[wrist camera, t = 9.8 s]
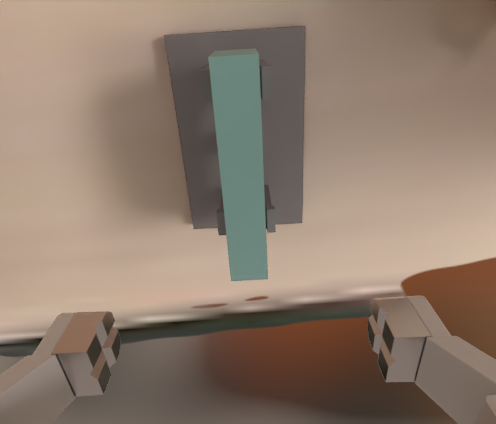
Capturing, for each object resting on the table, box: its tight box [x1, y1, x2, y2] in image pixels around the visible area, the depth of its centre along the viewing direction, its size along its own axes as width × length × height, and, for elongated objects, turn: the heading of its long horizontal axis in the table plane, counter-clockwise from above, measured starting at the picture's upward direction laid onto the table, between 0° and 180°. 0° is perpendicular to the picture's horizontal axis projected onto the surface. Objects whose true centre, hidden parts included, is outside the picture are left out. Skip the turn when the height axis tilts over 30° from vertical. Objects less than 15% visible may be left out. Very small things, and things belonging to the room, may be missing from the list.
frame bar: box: [208, 48, 268, 281], centre depth 23 cm, size 2×14×5 cm, turn 3°
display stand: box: [164, 26, 305, 235], centre depth 27 cm, size 10×16×6 cm, turn 3°
